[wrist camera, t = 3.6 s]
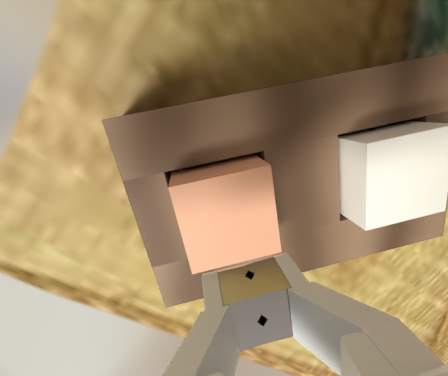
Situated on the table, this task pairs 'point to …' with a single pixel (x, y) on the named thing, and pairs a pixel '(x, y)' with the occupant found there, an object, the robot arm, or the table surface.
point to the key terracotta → (226, 212)
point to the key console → (276, 161)
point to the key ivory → (393, 173)
